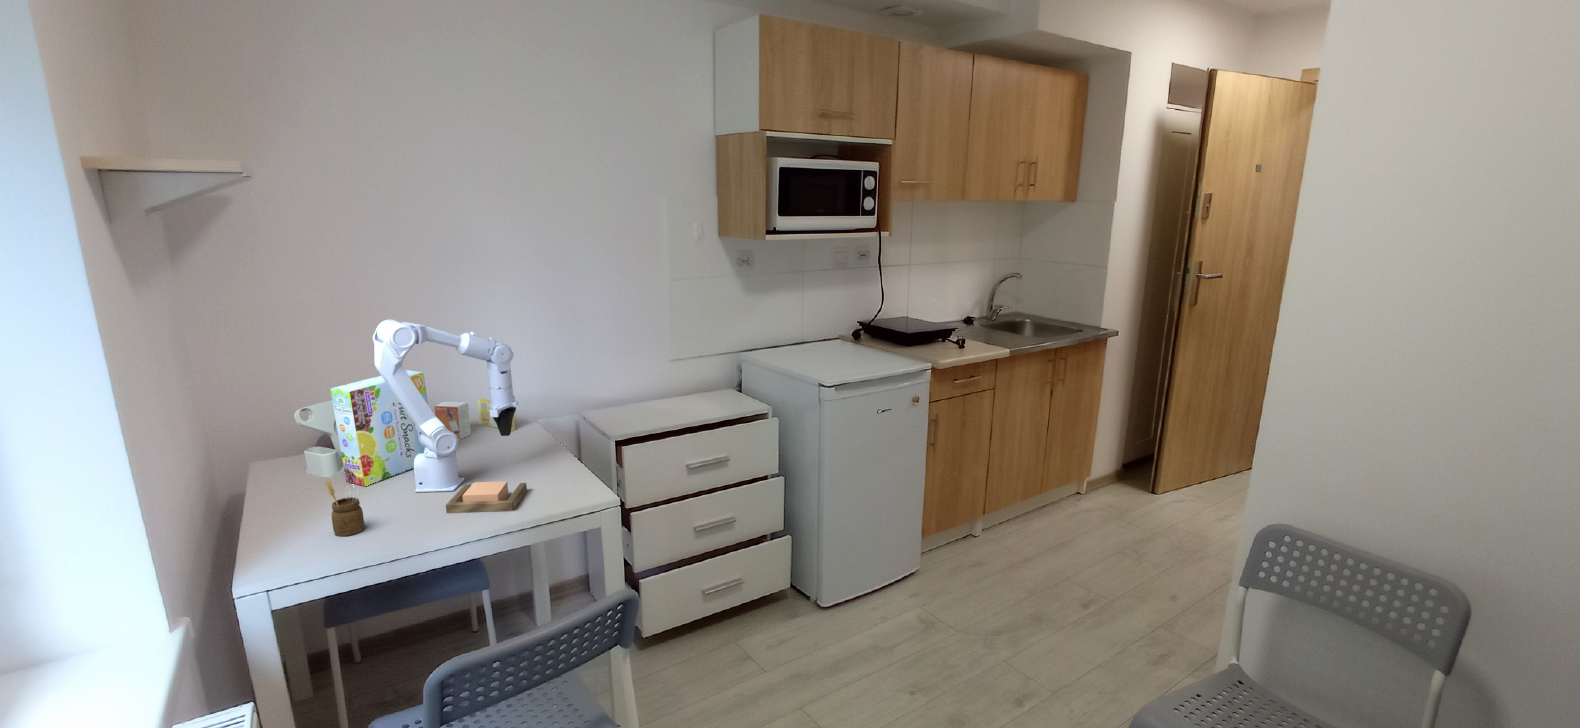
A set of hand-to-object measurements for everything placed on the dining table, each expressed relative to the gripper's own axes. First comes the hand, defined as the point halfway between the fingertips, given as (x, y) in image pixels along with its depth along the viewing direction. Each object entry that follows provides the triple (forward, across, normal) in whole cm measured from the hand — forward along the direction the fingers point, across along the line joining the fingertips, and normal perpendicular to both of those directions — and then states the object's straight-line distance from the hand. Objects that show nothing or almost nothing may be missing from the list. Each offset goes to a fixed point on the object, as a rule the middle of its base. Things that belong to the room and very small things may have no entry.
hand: (505, 435), depth 198 cm
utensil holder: (+10, -37, +23) cm, 45 cm away
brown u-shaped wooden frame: (+9, -22, -2) cm, 24 cm away
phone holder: (+10, +5, +46) cm, 47 cm away
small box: (+10, +29, +26) cm, 40 cm away
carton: (+10, -23, -2) cm, 25 cm away
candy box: (+10, +38, +16) cm, 42 cm away
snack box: (+10, 0, +31) cm, 32 cm away
